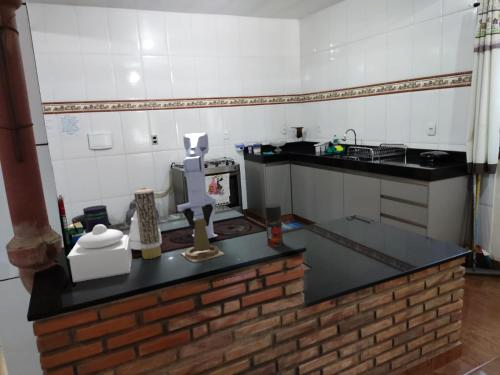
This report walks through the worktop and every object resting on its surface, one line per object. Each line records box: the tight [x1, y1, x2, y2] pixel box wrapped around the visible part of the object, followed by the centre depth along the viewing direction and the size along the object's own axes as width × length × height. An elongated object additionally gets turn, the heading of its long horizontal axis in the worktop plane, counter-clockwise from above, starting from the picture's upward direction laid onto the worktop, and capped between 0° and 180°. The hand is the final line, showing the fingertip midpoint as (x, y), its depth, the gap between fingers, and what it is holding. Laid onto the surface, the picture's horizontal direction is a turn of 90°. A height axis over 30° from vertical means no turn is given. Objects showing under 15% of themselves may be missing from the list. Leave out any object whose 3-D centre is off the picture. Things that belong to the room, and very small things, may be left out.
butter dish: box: [66, 224, 133, 283], centre depth 126 cm, size 18×18×16 cm
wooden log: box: [133, 188, 162, 260], centre depth 134 cm, size 7×7×25 cm
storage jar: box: [82, 205, 111, 234], centre depth 163 cm, size 10×10×15 cm
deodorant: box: [264, 203, 284, 248], centre depth 137 cm, size 6×6×15 cm
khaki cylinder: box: [193, 219, 211, 251], centre depth 132 cm, size 6×6×11 cm
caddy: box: [180, 244, 225, 264], centre depth 133 cm, size 12×12×2 cm
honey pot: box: [128, 210, 163, 251], centre depth 150 cm, size 13×13×18 cm
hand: (199, 227), depth 132 cm, fingers closed on khaki cylinder, 5 cm apart
